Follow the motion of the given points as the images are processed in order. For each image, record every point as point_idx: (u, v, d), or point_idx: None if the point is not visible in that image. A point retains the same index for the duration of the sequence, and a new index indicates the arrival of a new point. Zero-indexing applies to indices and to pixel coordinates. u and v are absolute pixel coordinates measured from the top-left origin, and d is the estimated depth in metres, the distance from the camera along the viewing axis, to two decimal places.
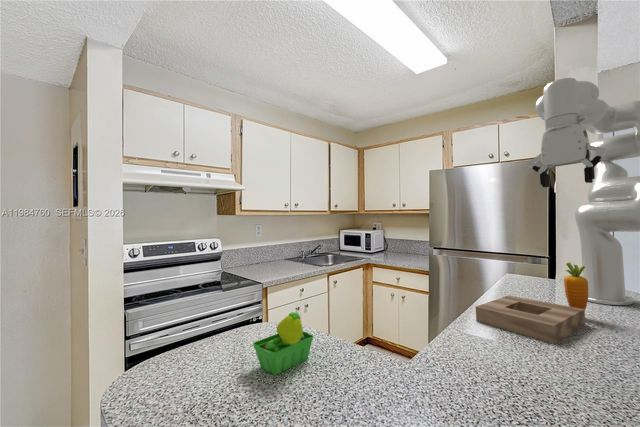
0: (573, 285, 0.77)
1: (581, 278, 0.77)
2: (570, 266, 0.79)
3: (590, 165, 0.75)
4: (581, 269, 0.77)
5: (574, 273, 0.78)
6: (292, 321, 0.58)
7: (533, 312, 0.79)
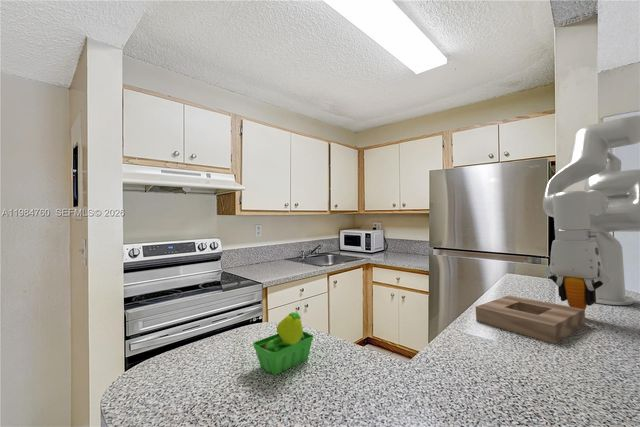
0: (573, 285, 0.77)
1: None
2: None
3: (591, 289, 0.75)
4: None
5: None
6: (292, 321, 0.58)
7: (533, 312, 0.79)
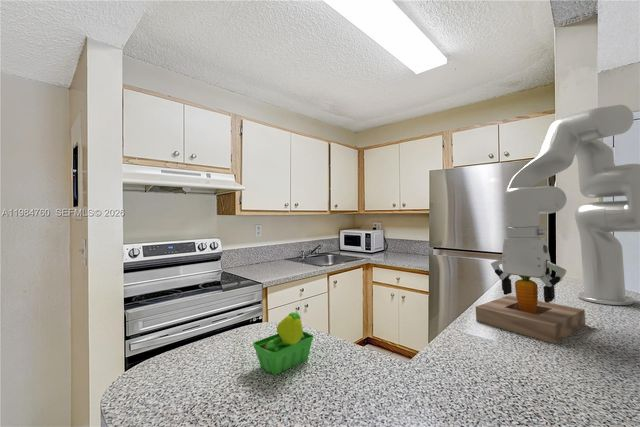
0: (523, 289, 0.75)
1: (531, 282, 0.75)
2: None
3: (549, 285, 0.71)
4: None
5: (524, 277, 0.76)
6: (292, 321, 0.58)
7: None
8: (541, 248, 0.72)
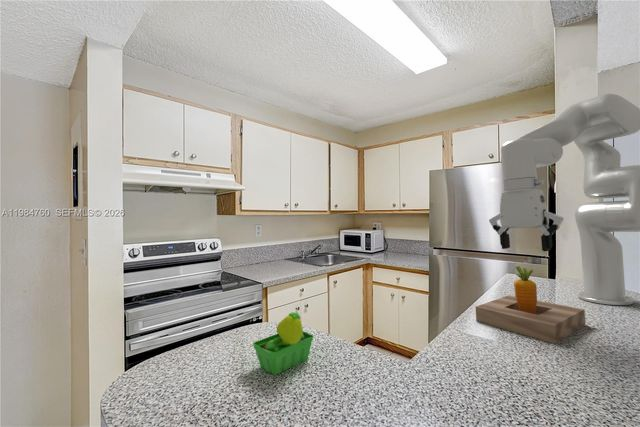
0: (522, 289, 0.75)
1: (529, 282, 0.75)
2: (519, 270, 0.78)
3: (547, 233, 0.71)
4: (529, 273, 0.76)
5: (523, 277, 0.76)
6: (292, 321, 0.58)
7: None
8: (538, 198, 0.72)
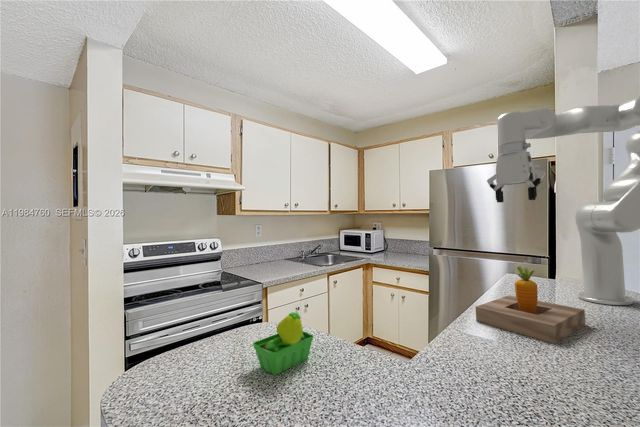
0: (522, 289, 0.75)
1: (530, 282, 0.75)
2: (520, 270, 0.78)
3: (532, 185, 0.90)
4: (530, 273, 0.75)
5: (524, 277, 0.76)
6: (292, 321, 0.58)
7: None
8: (526, 157, 0.91)
